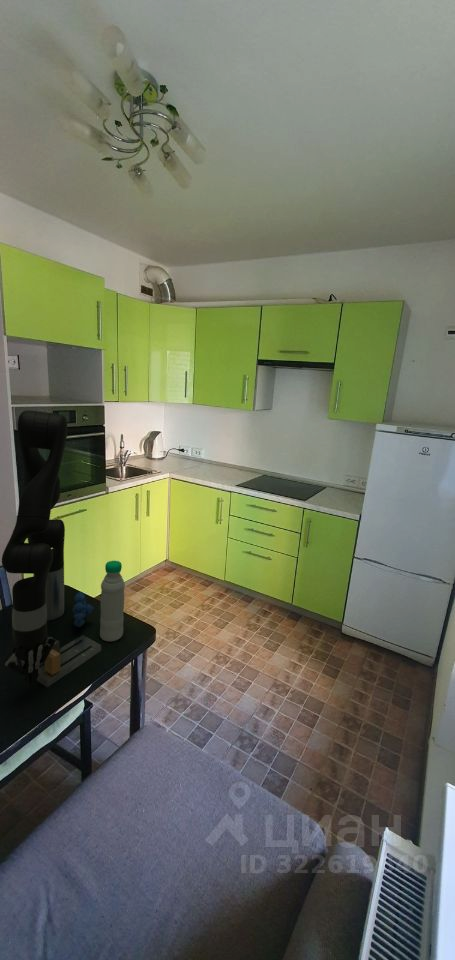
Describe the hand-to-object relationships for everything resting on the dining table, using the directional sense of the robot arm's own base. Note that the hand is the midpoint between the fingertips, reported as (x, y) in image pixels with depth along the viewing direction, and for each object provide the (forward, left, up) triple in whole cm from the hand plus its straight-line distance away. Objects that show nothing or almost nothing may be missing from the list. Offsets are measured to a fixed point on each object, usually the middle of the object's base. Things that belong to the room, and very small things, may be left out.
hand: (31, 681), depth 98 cm
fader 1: (-4, +9, -1) cm, 10 cm away
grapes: (-12, +26, -3) cm, 29 cm away
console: (-2, +12, -3) cm, 12 cm away
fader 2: (0, +6, -1) cm, 6 cm away
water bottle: (-1, +28, -3) cm, 28 cm away
